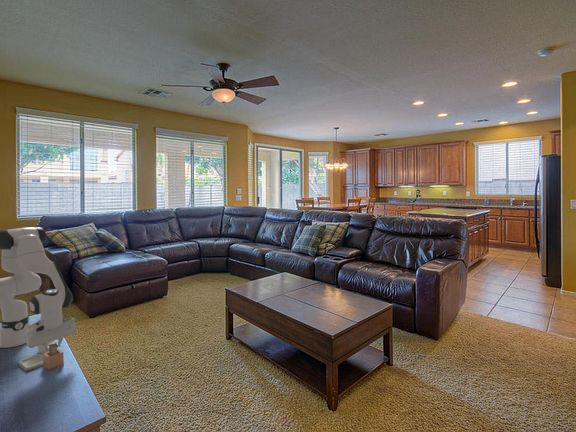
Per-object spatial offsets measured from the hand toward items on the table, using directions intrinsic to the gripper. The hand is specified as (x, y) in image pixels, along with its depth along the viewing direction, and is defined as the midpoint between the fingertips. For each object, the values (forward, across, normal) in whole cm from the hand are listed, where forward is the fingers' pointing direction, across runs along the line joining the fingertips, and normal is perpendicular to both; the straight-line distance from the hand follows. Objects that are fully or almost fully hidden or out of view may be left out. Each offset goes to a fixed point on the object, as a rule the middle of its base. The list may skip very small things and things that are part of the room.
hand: (53, 348), depth 157 cm
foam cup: (+9, -4, -22) cm, 24 cm away
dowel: (+8, 0, 0) cm, 8 cm away
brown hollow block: (+9, 0, 0) cm, 9 cm away
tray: (+9, +5, -11) cm, 15 cm away
